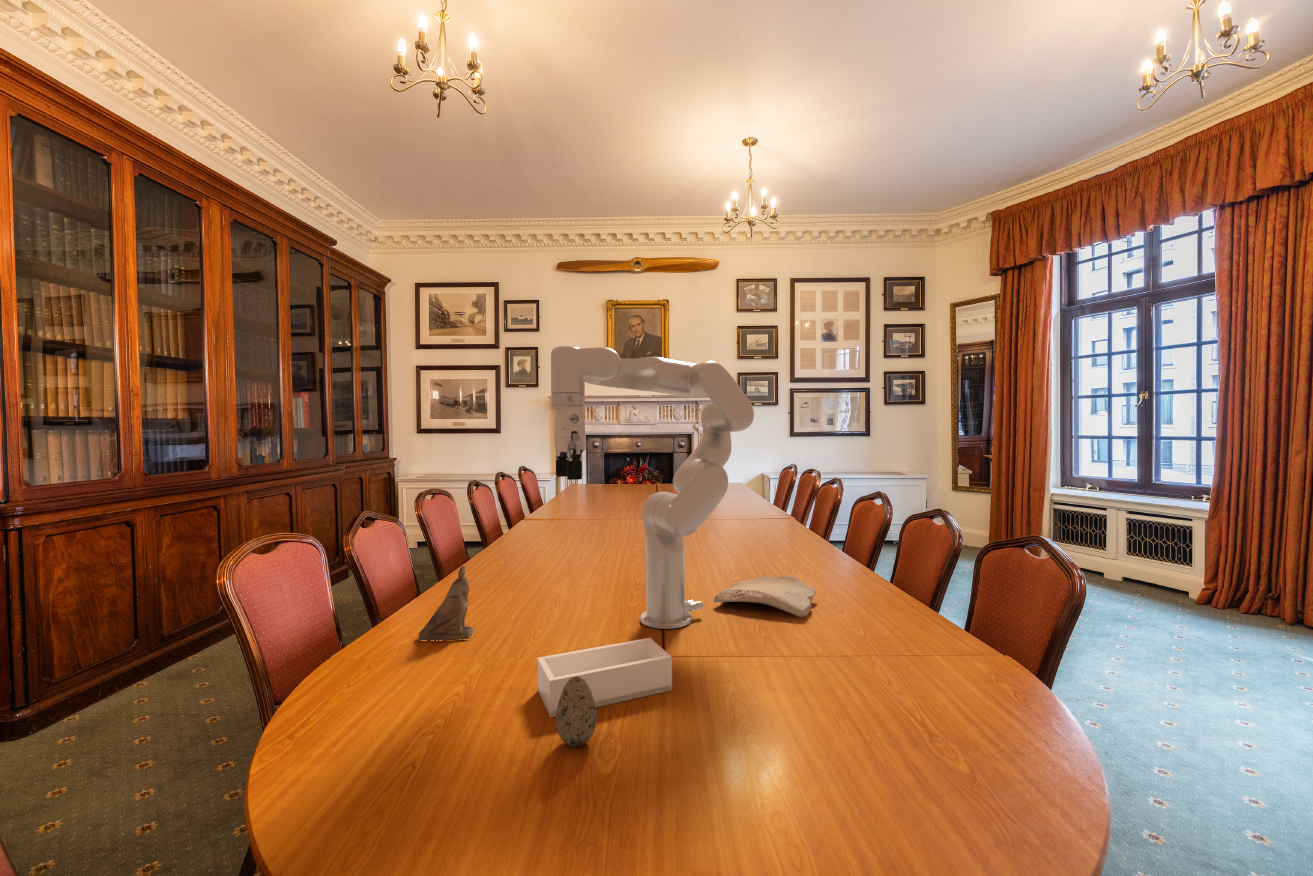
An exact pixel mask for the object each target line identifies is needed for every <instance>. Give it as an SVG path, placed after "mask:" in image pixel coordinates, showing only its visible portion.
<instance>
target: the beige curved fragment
mask: <svg viewBox="0 0 1313 876" xmlns="http://www.w3.org/2000/svg"><path fill="white" fill-rule="evenodd" d="M816 592H817V591H816V589H815V587H813V586H811V585H809V584H806V583H804V582H803V581H801V580H800V579H799V577H797V576H796V575H790V574H789V575H787V574H782V575H777V577H774V576H767V575H766V576H765V575H764V576H759V577H758V578H752V579H748V580H747V579H745V580H742V581H737V582H734V583H733V585H731V587H730V588H727V589H722V590H721V591H720V592H719V593H718V594H715V596H714V598H713V603H728V602H729V603H730V602H734V603H739V602H743V603H755V604H764V605H766V606H771V607H774V608H776V609H779V610H782V611H785V612H787V613H788V614H789V613H790V614H792V615H794V616H796V617H798V618H804V617H806V616H808V615H809V614H810V611H811V608H812V601H813V599H814V597H815V595H816Z"/></svg>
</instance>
